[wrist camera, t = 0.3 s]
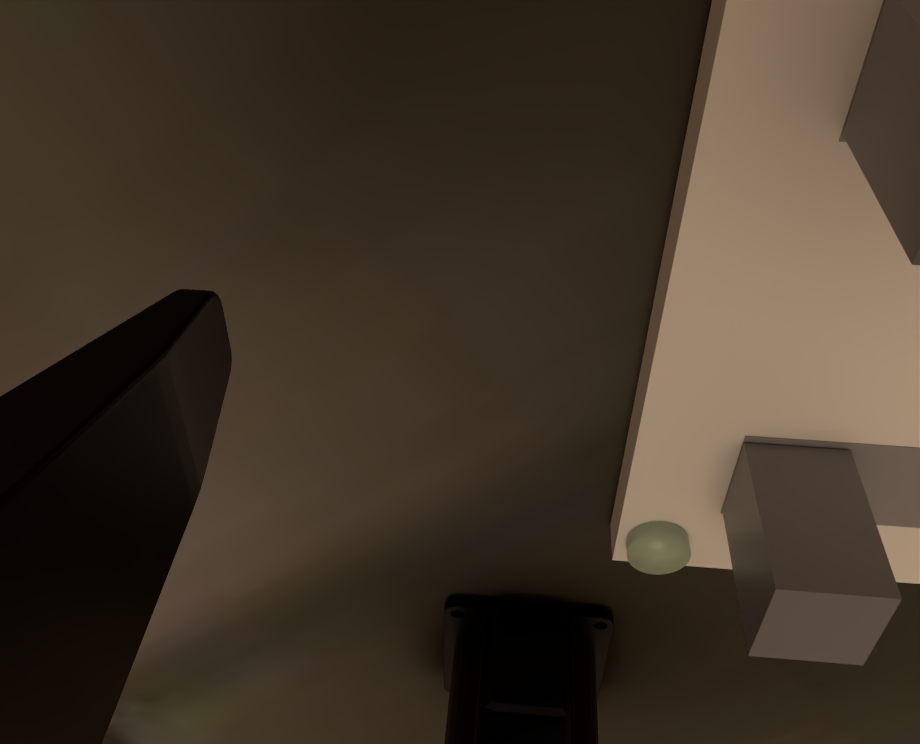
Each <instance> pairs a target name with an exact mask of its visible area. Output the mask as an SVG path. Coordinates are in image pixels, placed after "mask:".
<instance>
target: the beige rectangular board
mask: <svg viewBox="0 0 920 744" xmlns="http://www.w3.org/2000/svg"><path fill="white" fill-rule="evenodd" d="M884 3H885V0H712V3H711V8H710V13H709V18H708V24H707V29H706V34H705V39H704V44H703V49H702V55H701V60H700V65H699V70H698V75H697V80H696V86H695V91H694V96H693V101H692V106H691V111H690V117H689V122H688V127H687V132H686V137H685V142H684V148H683V153H682V158H681V163H680V168H679V173H678V178H677V184H676V189H675V194H674V199H673V204H672V209H671V215H670V220H669V225H668V230H667V235H666V240H665V246H664V251H663V256H662V261H661V266H660V271H659V277H658V282H657V287H656V292H655V297H654V302H653V308H652V313H651V318H650V323H649V328H648V333H647V338H646V344H645V349H644V354H643V359H642V364H641V369H640V375H639V380H638V385H637V390H636V395H635V400H634V406H633V411H632V416H631V421H630V426H629V431H628V437H627V442H626V447H625V452H624V457H623V462H622V468H621V473H620V478H619V483H618V488H617V493H616V498H615V504H614V509H613V514H612V519H611V524H610V527H611V546H612V560H618V561H628V562H629V563H630V564H631V566H633V567H634V568H635V569H637V570H639V571H641V572H644V573H648V574H657V575H659V574H668V573H672V572H675V571H678V570H680V569H681V568H683V567H684V566H696V567H709V568H721V569H732V563H731V557H730V552H729V546H728V540H727V535H726V529H725V524H724V518H723V512H722V510H723V507H724V504H725V500H726V497H727V494H728V491H729V488H730V485H731V482H732V479H733V475H734V472H735V469H736V466H737V463H738V460H739V457H740V453H741V450H742V447H743V444H744V443H754V444H768V445H783V446H797V447H812V448H826V449H841V450H851V452H852V455H853V458H854V461H855V464H856V467H857V470H858V473H859V476H860V478H861V481H862V484H863V487H864V490H865V493H866V496H867V499H868V502H869V505H870V508H871V510H872V513H873V516H874V519H875V522H876V525H877V528H878V531H879V534H880V537H881V540H882V542H883V545H884V548H885V551H886V554H887V557H888V560H889V563H890V566H891V569H892V572H893V575H894V577H895V580H896V582H903V583H916V584H920V265H912V264H911V262H910V260H909V258H908V257H907V255H906V253H905V251H904V249H903V247H902V245H901V243H900V242H899V240H898V238H897V236H896V234H895V232H894V230H893V228H892V227H891V225H890V223H889V221H888V219H887V217H886V215H885V213H884V212H883V210H882V208H881V206H880V204H879V202H878V200H877V198H876V196H875V195H874V193H873V191H872V189H871V187H870V185H869V183H868V181H867V180H866V178H865V176H864V174H863V172H862V170H861V168H860V166H859V165H858V163H857V161H856V159H855V157H854V155H853V153H852V151H851V150H850V148H849V146H848V144H847V142H846V140H845V138H844V136H843V135H842V134H843V131H844V128H845V125H846V122H847V118H848V115H849V112H850V109H851V106H852V103H853V100H854V96H855V93H856V90H857V87H858V84H859V81H860V78H861V75H862V71H863V68H864V65H865V62H866V59H867V56H868V53H869V50H870V46H871V43H872V40H873V37H874V34H875V31H876V28H877V24H878V21H879V18H880V15H881V12H882V9H883V6H884Z"/></svg>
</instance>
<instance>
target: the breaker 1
mask: <svg viewBox="0 0 920 744" xmlns="http://www.w3.org/2000/svg"><path fill="white" fill-rule="evenodd" d="M722 512H723V518H724V524H725V529H726V535H727V540H728V546H729V552H730V557H731V563H732V569H733V574H734V580H735V585H736V591H737V597H738V602H739V608H740V613H741V619H742V625H743V630H744V636H745V642H746V647H747V653H748V656H756V657H768V658H780V659H793V660H805V661H817V662H829V663H841V664H853V665H864V663H865V661H866V660H867V658H868V656H869V655H870V653H871V651H872V649H873V648H874V646H875V644H876V643H877V641H878V639H879V637H880V636H881V634H882V632H883V631H884V629H885V627H886V626H887V624H888V622H889V620H890V619H891V617H892V615H893V614H894V612H895V610H896V608H897V607H898V605H899V603H900V602H901V600H902V598H901V595H900V592H899V589H898V586H897V583H896V580H895V577H894V575H893V572H892V569H891V566H890V563H889V560H888V557H887V554H886V551H885V548H884V545H883V542H882V540H881V537H880V534H879V531H878V528H877V525H876V522H875V519H874V516H873V513H872V510H871V508H870V505H869V502H868V499H867V496H866V493H865V490H864V487H863V484H862V481H861V478H860V476H859V473H858V470H857V467H856V464H855V461H854V458H853V455H852V452H851V450H841V449H826V448H812V447H797V446H783V445H768V444H754V443H744V444H743V447H742V450H741V453H740V457H739V460H738V463H737V466H736V469H735V472H734V475H733V479H732V482H731V485H730V488H729V491H728V494H727V497H726V500H725V504H724V507H723V510H722Z"/></svg>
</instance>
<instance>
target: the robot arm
mask: <svg viewBox="0 0 920 744" xmlns="http://www.w3.org/2000/svg"><path fill="white" fill-rule="evenodd" d="M231 362H232V356H231V348H230V343H229V338H228V333H227V327H226V322H225V317H224V312H223V307H222V303H221V300H220V298H219V296H218V295H217V294H216V293H215V292H213V291H206V290H190V289H180V290H177V291H175V292H173V293H171V294H170V295H168V296H166V297H165V298H163V299H161V300H160V301H158V302H156V303H155V304H153V305H151V306H150V307H148V308H146V309H145V310H143V311H141V312H140V313H138V314H136V315H135V316H133V317H131V318H130V319H128V320H126V321H125V322H123V323H121V324H120V325H118V326H117V327H115V328H113V329H112V330H110V331H108V332H107V333H105V334H103V335H102V336H100V337H98V338H97V339H95V340H93V341H92V342H90V343H88V344H87V345H85V346H83V347H82V348H80V349H78V350H77V351H75V352H73V353H72V354H70V355H68V356H67V357H65V358H63V359H62V360H60V361H58V362H57V363H55V364H53V365H52V366H50V367H49V368H47V369H45V370H44V371H42V372H40V373H39V374H37V375H35V376H34V377H32V378H30V379H29V380H27V381H25V382H24V383H22V384H20V385H19V386H17V387H15V388H14V389H12V390H10V391H9V392H7V393H5V394H4V395H2V396H0V744H102V741H103V739H104V736H105V734H106V731H107V729H108V726H109V724H110V721H111V718H112V716H113V713H114V711H115V708H116V706H117V703H118V700H119V698H120V695H121V693H122V690H123V688H124V685H125V683H126V680H127V677H128V675H129V672H130V670H131V667H132V665H133V662H134V659H135V657H136V654H137V652H138V649H139V647H140V644H141V642H142V639H143V636H144V634H145V631H146V629H147V626H148V624H149V621H150V618H151V616H152V613H153V611H154V608H155V606H156V603H157V601H158V598H159V595H160V593H161V590H162V588H163V585H164V583H165V580H166V577H167V575H168V572H169V570H170V567H171V565H172V562H173V560H174V557H175V554H176V552H177V549H178V547H179V544H180V542H181V539H182V536H183V534H184V531H185V529H186V526H187V524H188V521H189V519H190V516H191V513H192V511H193V508H194V506H195V503H196V500H197V497H198V494H199V492H200V489H201V485H202V482H203V478H204V475H205V471H206V467H207V463H208V460H209V456H210V452H211V448H212V444H213V440H214V436H215V432H216V428H217V424H218V420H219V416H220V412H221V408H222V404H223V400H224V396H225V392H226V388H227V384H228V380H229V376H230V371H231ZM613 628H614V621H613V614H612V613H611V612H609V611H607V610H603V609H593V608H581V607H568V606H556V605H543V604H531V603H519V602H506V601H494V600H481V599H469V598H451V599H448V600H447V601H446V603H445V608H444V688H445V690H446V691H447V692H450V695H449V705H448V714H447V724H446V734H445V744H598V721H597V699H598V695H599V690H600V686H601V682H602V677H603V673H604V668H605V664H606V659H607V655H608V650H609V646H610V641H611V637H612V633H613Z"/></svg>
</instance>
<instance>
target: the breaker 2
mask: <svg viewBox="0 0 920 744" xmlns="http://www.w3.org/2000/svg"><path fill="white" fill-rule="evenodd" d="M842 135H843V136H844V138H845V140H846V142H847V144H848V146H849V148H850V150H851V151H852V153H853V155H854V157H855V159H856V161H857V163H858V165H859V166H860V168H861V170H862V172H863V174H864V176H865V178H866V180H867V181H868V183H869V185H870V187H871V189H872V191H873V193H874V195H875V196H876V198H877V200H878V202H879V204H880V206H881V208H882V210H883V212H884V213H885V215H886V217H887V219H888V221H889V223H890V225H891V227H892V228H893V230H894V232H895V234H896V236H897V238H898V240H899V242H900V243H901V245H902V247H903V249H904V251H905V253H906V255H907V257H908V258H909V260H910V262H911V264H912V265H920V0H885V3H884V6H883V9H882V12H881V15H880V18H879V21H878V24H877V28H876V31H875V34H874V37H873V40H872V43H871V46H870V50H869V53H868V56H867V59H866V62H865V65H864V68H863V71H862V75H861V78H860V81H859V84H858V87H857V90H856V93H855V96H854V100H853V103H852V106H851V109H850V112H849V115H848V118H847V122H846V125H845V128H844V131H843V134H842Z"/></svg>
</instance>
